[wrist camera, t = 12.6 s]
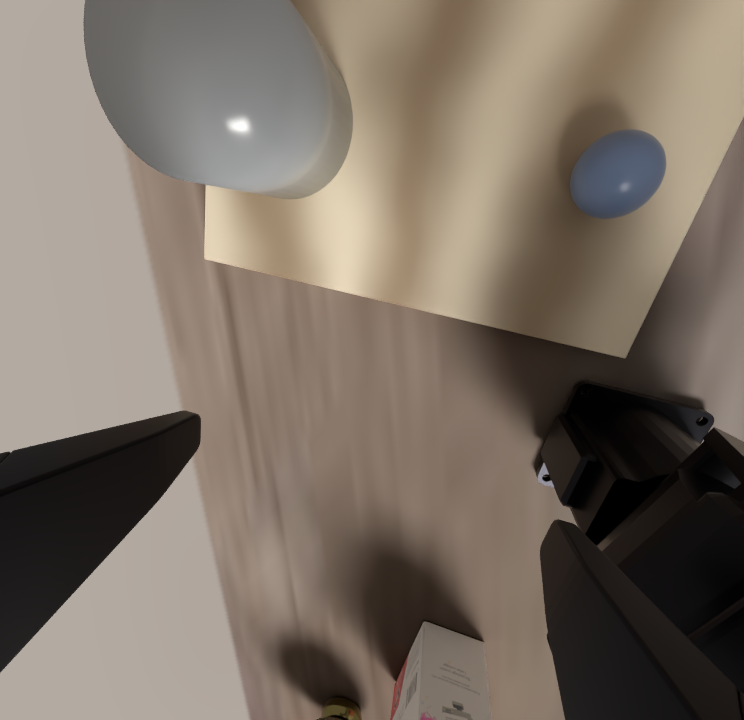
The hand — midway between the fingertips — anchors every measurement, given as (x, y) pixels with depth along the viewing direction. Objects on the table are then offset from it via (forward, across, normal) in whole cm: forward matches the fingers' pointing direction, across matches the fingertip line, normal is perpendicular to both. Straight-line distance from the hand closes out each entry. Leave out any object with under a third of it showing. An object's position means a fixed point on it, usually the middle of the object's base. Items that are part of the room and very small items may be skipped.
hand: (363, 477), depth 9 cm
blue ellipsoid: (+10, -6, -9) cm, 14 cm away
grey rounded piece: (+11, +8, -9) cm, 16 cm away
